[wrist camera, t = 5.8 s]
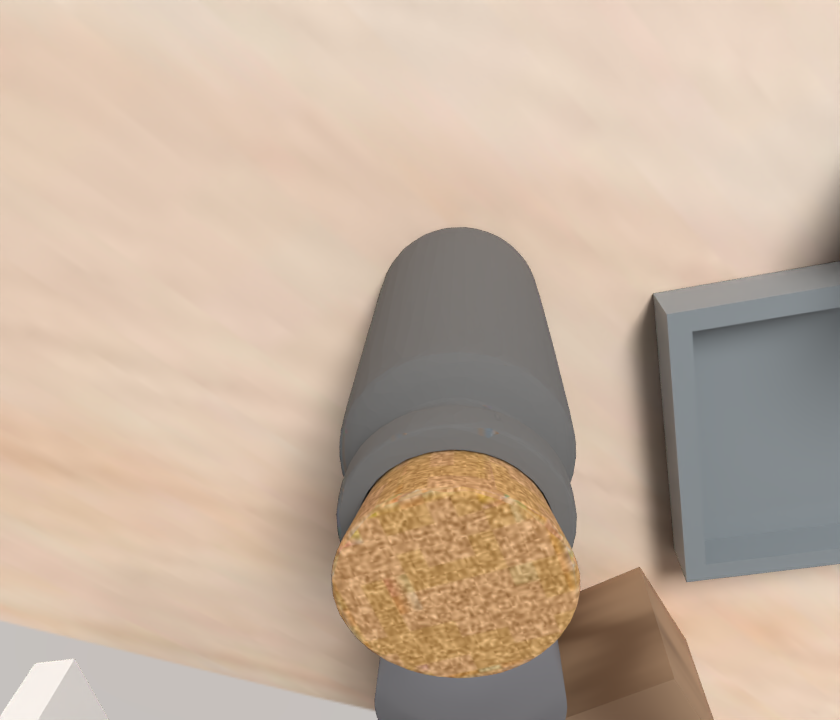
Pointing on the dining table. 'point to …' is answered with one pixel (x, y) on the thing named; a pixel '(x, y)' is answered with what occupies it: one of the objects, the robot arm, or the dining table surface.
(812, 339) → the tray
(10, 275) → the dining table surface
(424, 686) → the gray domed object
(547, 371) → the bottle
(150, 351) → the dining table surface
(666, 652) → the walnut block
